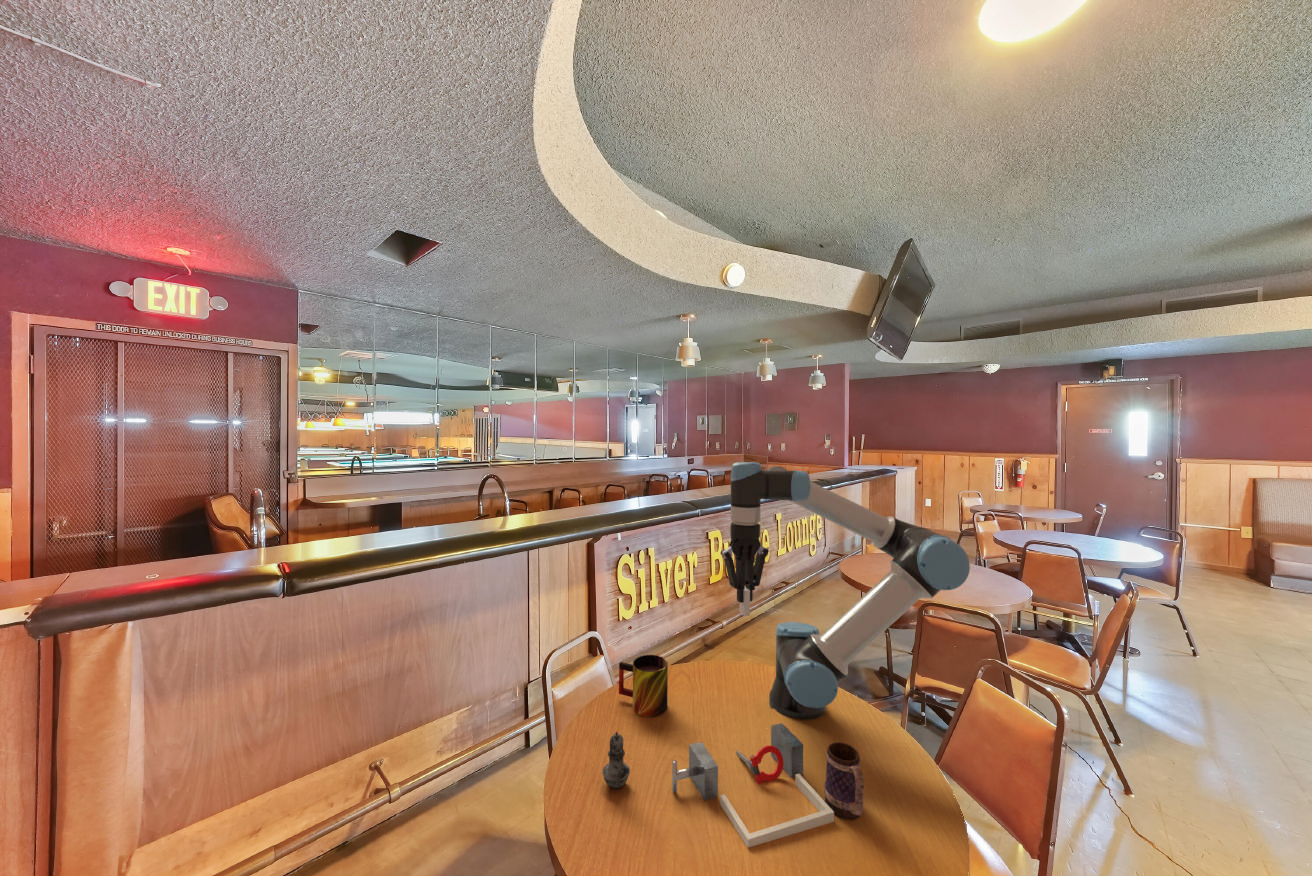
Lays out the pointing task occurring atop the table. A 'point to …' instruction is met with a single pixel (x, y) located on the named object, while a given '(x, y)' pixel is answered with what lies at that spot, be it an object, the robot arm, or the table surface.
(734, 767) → the table surface
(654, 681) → the mug
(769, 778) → the tow hook
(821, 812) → the corral
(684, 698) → the table surface
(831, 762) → the mug
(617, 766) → the chess piece
